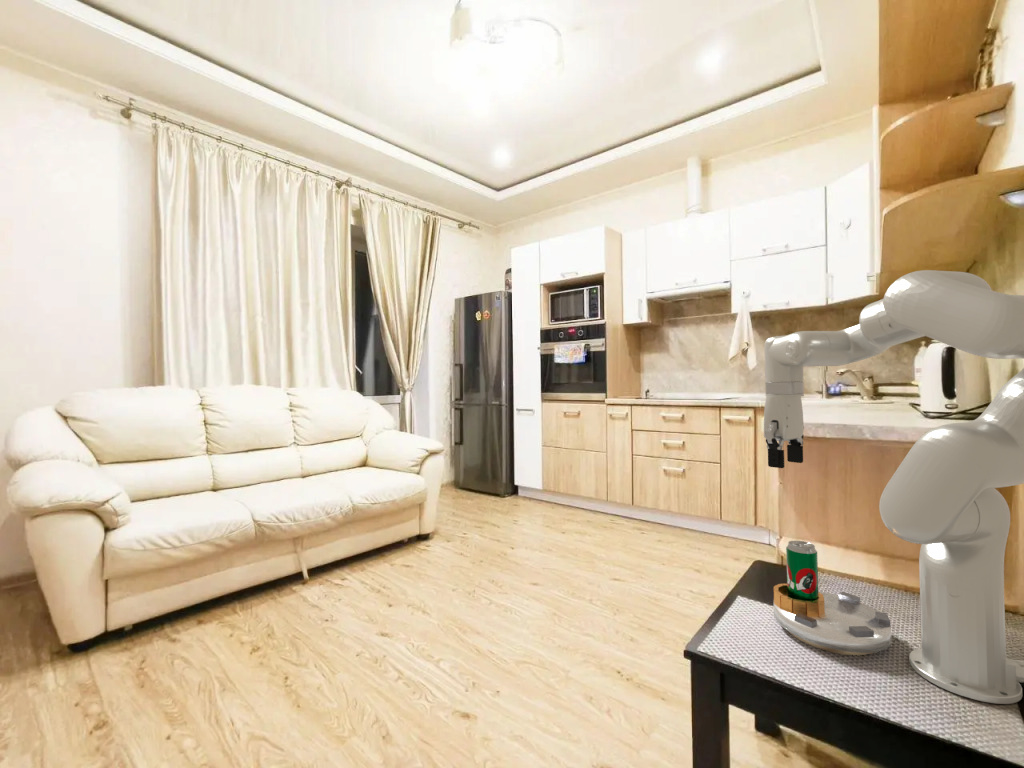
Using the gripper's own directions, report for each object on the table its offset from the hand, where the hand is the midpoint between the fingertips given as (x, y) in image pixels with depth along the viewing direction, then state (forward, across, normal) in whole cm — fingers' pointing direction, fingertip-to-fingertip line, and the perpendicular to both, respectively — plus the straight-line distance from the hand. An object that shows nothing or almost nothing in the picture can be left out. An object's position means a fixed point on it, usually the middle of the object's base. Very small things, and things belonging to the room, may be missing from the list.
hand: (786, 464), depth 103 cm
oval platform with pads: (+27, +14, +12) cm, 33 cm away
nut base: (+28, +14, +12) cm, 34 cm away
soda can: (+25, +15, +9) cm, 30 cm away
